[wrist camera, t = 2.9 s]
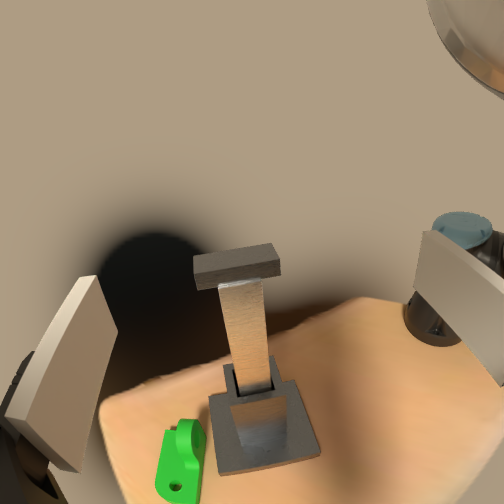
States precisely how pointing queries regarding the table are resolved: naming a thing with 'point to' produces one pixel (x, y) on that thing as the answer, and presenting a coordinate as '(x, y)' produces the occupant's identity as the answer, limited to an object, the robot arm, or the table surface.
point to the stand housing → (260, 426)
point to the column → (242, 307)
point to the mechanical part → (181, 463)
